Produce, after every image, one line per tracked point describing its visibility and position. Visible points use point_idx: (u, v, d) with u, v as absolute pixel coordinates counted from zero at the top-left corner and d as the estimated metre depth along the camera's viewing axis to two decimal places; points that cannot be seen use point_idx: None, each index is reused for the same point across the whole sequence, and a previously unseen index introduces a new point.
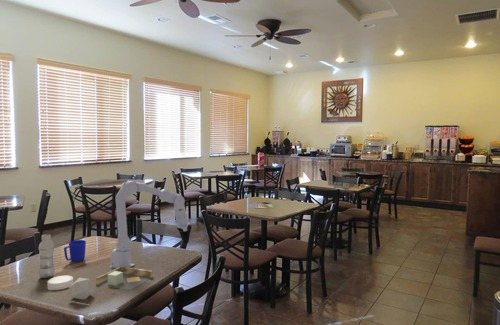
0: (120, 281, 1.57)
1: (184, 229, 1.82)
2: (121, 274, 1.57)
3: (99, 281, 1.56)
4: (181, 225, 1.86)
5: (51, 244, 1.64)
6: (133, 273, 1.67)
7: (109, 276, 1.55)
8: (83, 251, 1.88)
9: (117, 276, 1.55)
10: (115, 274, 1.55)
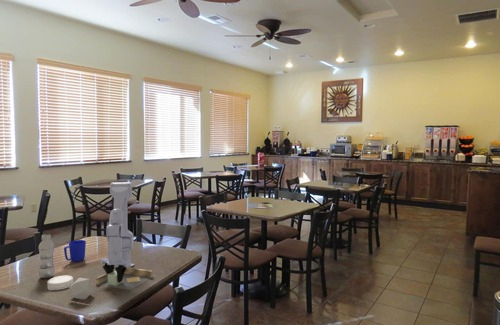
0: None
1: None
2: None
3: (99, 281, 1.56)
4: None
5: (51, 244, 1.64)
6: (133, 273, 1.67)
7: (109, 276, 1.55)
8: (83, 251, 1.88)
9: None
10: (115, 274, 1.55)
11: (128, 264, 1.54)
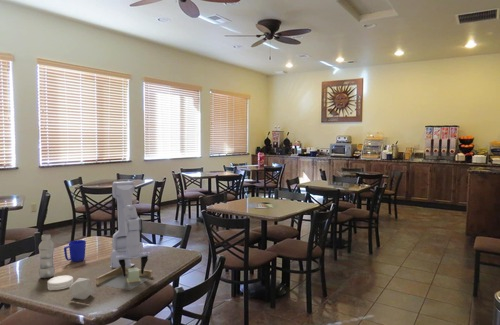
0: None
1: (116, 258, 1.58)
2: None
3: (99, 281, 1.56)
4: (126, 254, 1.60)
5: (51, 244, 1.64)
6: None
7: (131, 273, 1.58)
8: (83, 251, 1.88)
9: (138, 271, 1.60)
10: (136, 270, 1.60)
11: (149, 254, 1.63)
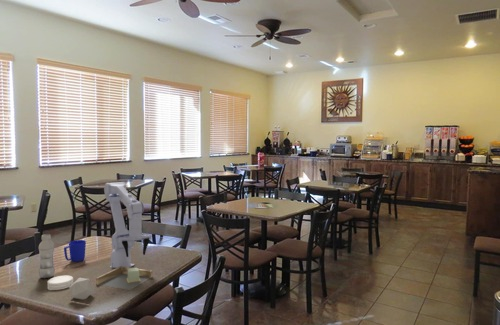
0: None
1: (119, 239, 1.65)
2: None
3: (99, 281, 1.56)
4: (129, 235, 1.68)
5: (51, 244, 1.64)
6: None
7: (131, 273, 1.58)
8: (83, 251, 1.88)
9: (138, 271, 1.60)
10: (136, 270, 1.60)
11: None
